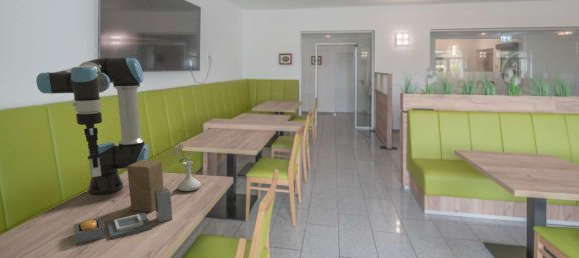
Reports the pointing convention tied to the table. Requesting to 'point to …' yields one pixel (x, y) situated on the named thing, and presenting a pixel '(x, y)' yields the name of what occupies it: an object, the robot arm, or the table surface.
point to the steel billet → (163, 205)
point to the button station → (89, 232)
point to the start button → (88, 225)
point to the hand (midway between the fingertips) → (95, 171)
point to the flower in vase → (189, 181)
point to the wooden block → (144, 184)
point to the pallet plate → (128, 225)
